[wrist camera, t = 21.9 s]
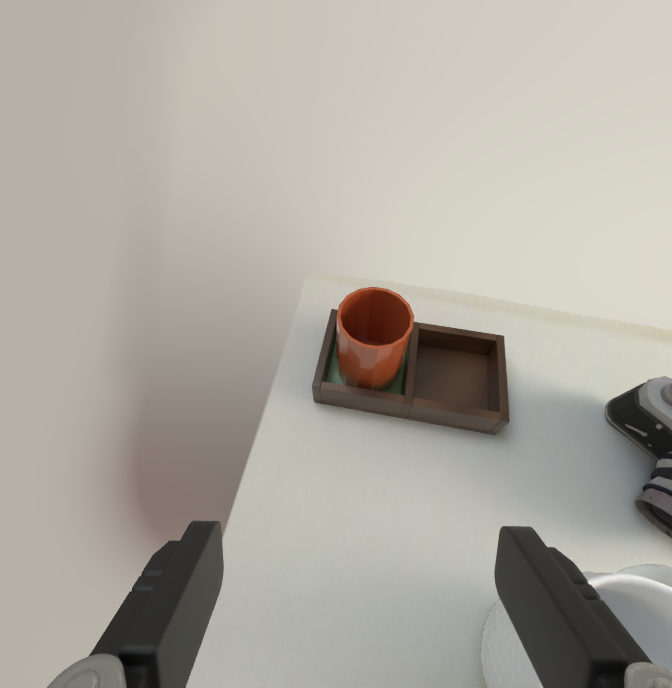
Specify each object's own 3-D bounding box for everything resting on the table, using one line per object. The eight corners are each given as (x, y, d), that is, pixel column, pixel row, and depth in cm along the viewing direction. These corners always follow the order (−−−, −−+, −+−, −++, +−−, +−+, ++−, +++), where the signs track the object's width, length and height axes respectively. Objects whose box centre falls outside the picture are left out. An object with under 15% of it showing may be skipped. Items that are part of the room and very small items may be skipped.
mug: (549, 513, 32) (662, 481, 21) (672, 643, 27) (901, 689, 16) (426, 640, 27) (488, 684, 16) (549, 824, 23) (752, 1060, 12)
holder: (313, 401, 38) (311, 386, 35) (331, 327, 43) (331, 308, 40) (495, 435, 36) (509, 421, 33) (491, 353, 41) (504, 335, 38)
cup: (331, 388, 38) (330, 341, 30) (343, 336, 41) (344, 282, 34) (394, 399, 37) (410, 354, 29) (401, 345, 41) (416, 293, 33)
